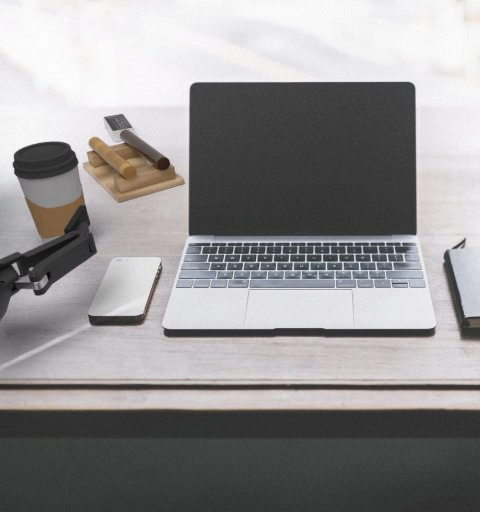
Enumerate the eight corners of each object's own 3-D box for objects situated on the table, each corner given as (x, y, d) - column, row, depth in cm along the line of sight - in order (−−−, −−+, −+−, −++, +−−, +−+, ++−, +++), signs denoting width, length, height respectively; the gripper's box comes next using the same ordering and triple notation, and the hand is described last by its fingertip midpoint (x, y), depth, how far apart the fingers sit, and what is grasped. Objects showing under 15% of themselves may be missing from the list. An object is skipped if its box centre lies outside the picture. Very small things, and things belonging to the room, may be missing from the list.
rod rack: (184, 183, 109) (180, 153, 106) (118, 202, 103) (111, 171, 100) (143, 152, 123) (138, 125, 120) (83, 167, 117) (76, 139, 114)
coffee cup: (109, 245, 91) (85, 149, 83) (54, 268, 86) (24, 168, 78) (82, 227, 96) (57, 135, 88) (29, 248, 91) (-2, 152, 83)
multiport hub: (114, 142, 128) (112, 131, 127) (104, 126, 136) (102, 116, 135) (135, 138, 130) (133, 127, 128) (125, 123, 138) (123, 113, 137)
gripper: (-158, 353, 62) (-57, 247, 81) (90, 340, 63) (135, 238, 81) (-192, 292, 59) (-78, 195, 77) (73, 278, 59) (123, 185, 77)
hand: (31, 217), depth 79 cm, fingers open, 13 cm apart
